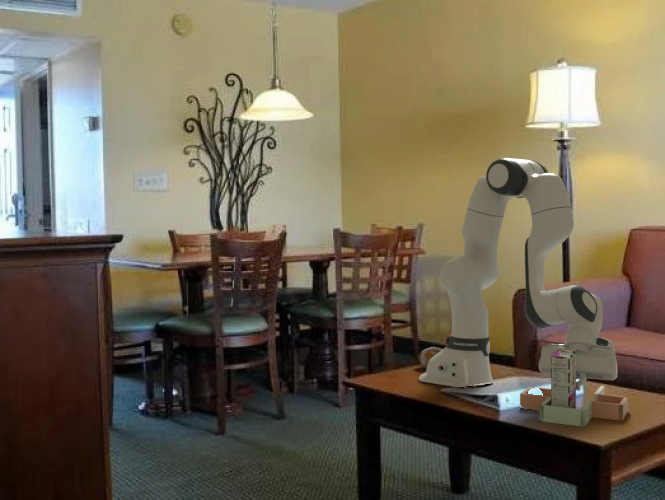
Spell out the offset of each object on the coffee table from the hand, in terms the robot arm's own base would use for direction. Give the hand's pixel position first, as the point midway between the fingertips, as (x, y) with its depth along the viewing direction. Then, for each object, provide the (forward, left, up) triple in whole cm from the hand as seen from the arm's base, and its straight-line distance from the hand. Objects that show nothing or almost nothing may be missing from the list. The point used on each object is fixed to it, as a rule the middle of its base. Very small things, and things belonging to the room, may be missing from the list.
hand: (573, 388), depth 209 cm
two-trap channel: (0, +1, -6) cm, 6 cm away
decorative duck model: (-50, +35, -6) cm, 62 cm away
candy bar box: (-2, -6, -6) cm, 9 cm away
